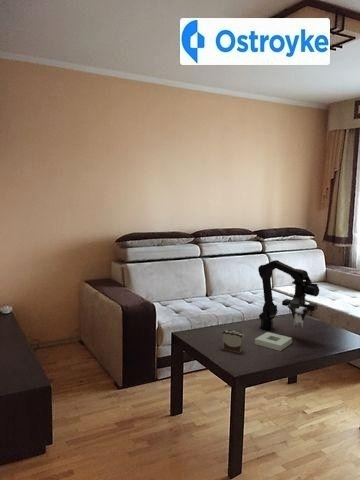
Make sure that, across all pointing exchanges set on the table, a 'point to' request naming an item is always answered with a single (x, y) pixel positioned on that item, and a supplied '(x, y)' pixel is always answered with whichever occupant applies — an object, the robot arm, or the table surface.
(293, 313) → the robot arm
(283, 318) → the table surface
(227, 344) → the food container
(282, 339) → the bore block
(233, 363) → the table surface
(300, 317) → the gray cylinder
